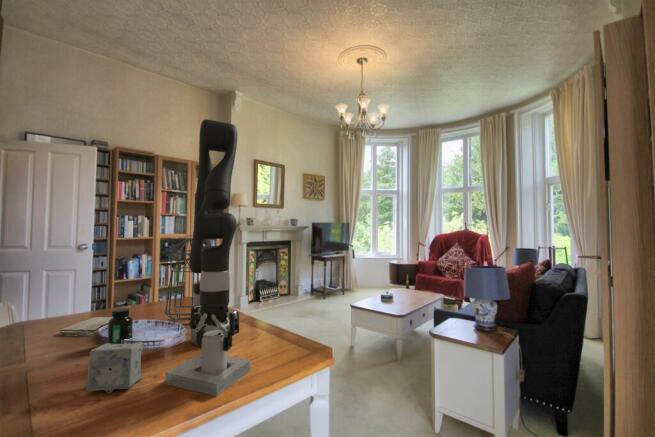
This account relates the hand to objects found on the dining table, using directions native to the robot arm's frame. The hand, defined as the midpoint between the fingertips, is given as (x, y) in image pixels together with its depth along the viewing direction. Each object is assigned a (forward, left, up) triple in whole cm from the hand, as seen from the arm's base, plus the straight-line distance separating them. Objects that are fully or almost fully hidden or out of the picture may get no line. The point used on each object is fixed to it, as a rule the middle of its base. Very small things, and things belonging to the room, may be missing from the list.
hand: (213, 347), depth 84 cm
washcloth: (-70, +15, -9) cm, 72 cm away
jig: (-1, 0, -8) cm, 8 cm away
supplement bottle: (-44, +7, -8) cm, 45 cm away
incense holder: (-20, -12, -8) cm, 25 cm away
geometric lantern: (-42, +35, -8) cm, 56 cm away
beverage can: (0, 0, -8) cm, 8 cm away
